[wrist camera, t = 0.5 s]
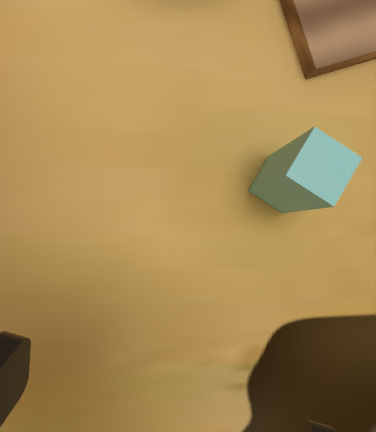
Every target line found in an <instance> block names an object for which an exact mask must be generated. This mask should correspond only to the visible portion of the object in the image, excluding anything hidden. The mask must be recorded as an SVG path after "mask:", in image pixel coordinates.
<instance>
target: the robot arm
mask: <svg viewBox="0 0 376 432" xmlns="http://www.w3.org/2000/svg"><path fill="white" fill-rule="evenodd" d="M30 346H31V341H30V339H29V338H26V337H22V336H19V335H15V334H12V333H9V332H5V331H4V332H1V333H0V427H1V425H2V424H3V422H4V421H5V419H6V418H7V416H8V415H9V414H10V412H11V411H12V409H13V408H14V406H15V405H16V403H17V402H18V400H19V399H20V397H21V396H22V394H23V392H24V390H25V387H26V384H27V381H28V377H29V363H30ZM298 432H337V431H336V430H335V428H334V427H331V426H327V425H324V424H320V423H317V422H313V421H310V420H305V421H304V422H303V423H302V425H301V427H300V429H299V431H298Z"/></svg>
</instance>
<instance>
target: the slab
mask: <svg viewBox="0 0 376 432" xmlns="http://www.w3.org/2000/svg"><path fill="white" fill-rule="evenodd" d="M280 3H281V6H282V9H283V12H284V15H285V18H286V21H287V24H288V27H289V30H290V33H291V36H292V39H293V42H294V45H295V48H296V51H297V55H298V58H299V61H300V64H301V67H302V70H303V73H304V76H305V79H308V78H312V77H315V76H318V75H322V74H325V73H328V72H332V71H335V70H339V69H342V68H345V67H349V66H352V65H355V64H359V63H362V62H366V61H369V60H372V59H376V0H280Z"/></svg>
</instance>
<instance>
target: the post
mask: <svg viewBox="0 0 376 432" xmlns="http://www.w3.org/2000/svg"><path fill="white" fill-rule="evenodd" d="M361 159H362V157H360V156H359V155H357V154H356V153H354V152H353V151H351V150H350V149H348V148H347V147H345V146H344V145H342V144H341V143H339V142H337V141H336V140H334V139H333V138H331V137H330V136H328V135H327V134H325V133H324V132H322V131H321V130H319V129H318V128H316V127H313V128H312V129H310V130H309V131H307V132H306V133H304V134H302V135H301V136H299V137H298V138H296V139H295V140H293V141H291V142H290V143H288V144H287V145H285V146H284V147H282V148H281V149H279V150H277V151H276V152H274V153H273V154H271V155H270V156H269V157H268V158H267V160H266V162H265V163H264V165H263V167H262V168H261V170H260V172H259V173H258V175H257V177H256V178H255V180H254V182H253V183H252V185H251V186H250V188H249V190H248V191H249V192H250V193H252V194H253V195H255V196H257V197H258V198H260V199H261V200H263V201H264V202H266V203H268V204H269V205H271V206H272V207H274V208H275V209H277V210H279V211H280V212H282V213H287V212H295V211H303V210H311V209H319V208H327V207H334V206H335V204H336V203H337V201H338V199H339V197H340V196H341V194H342V192H343V190H344V189H345V187H346V185H347V184H348V182H349V180H350V178H351V177H352V175H353V173H354V171H355V170H356V168H357V166H358V165H359V163H360V161H361Z"/></svg>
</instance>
